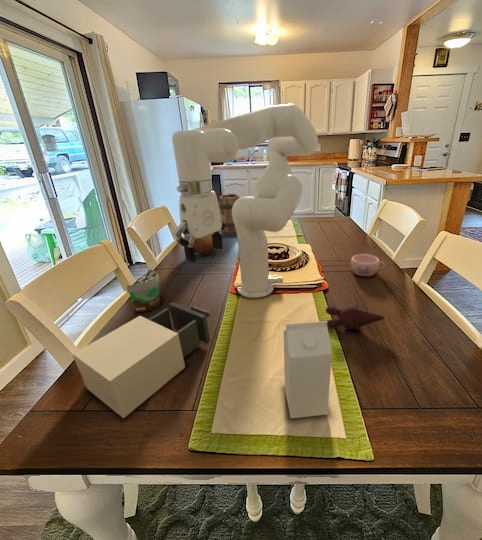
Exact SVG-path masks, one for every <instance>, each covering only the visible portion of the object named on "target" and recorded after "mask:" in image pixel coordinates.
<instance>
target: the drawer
mask: <svg viewBox="0 0 482 540" xmlns="http://www.w3.org/2000/svg"><path fill="white" fill-rule="evenodd" d="M168 307H169V308H165V309H163V310H161V311H160V312H158V313H156V314H154V315H153V316H151V317H150V318H147V319H148V320H150V321H152V322H155V323H157V324H159V325H161V326H163V327H165V328H167V329H169V330H171V331H174V332H176V333H178V336H179V340H180V345H181V350H182V354H183V359H185V357H187V356H188V355H190V354H191V353H192V352H193V351H194V350H196V349H197V348H198V347H199V346H201V342H202V343H204V344H208V343H210V342H211V338H210V332H209V325H208V320H207V319H208V318H209V317H210V312H209V311H207V310H204V309H202V308H199V307H196V306H193V305H191V307H190V308H188V307H186V306H182V305H181V304H179V303H175V302H173V301H172V302H170V303H168Z"/></svg>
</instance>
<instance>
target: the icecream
mask: <svg viewBox="0 0 482 540" xmlns="http://www.w3.org/2000/svg"><path fill="white" fill-rule="evenodd" d="M325 312H326V314H328V315H330V316H335V317H336V316H337V318H332V319H329V320H326V321H327V328H336V327H340V326H342V327H344V328H345V329H347V330H352V331H353V330H356V331H358V330H359V328H361V327H363V326H367V325H370V324H372V323H373V324H374V323H377V322H379V321H382V320H383V321H384V320H385V318H386V317H385V316H383V315H381V314H378V313H375V312H373V311H369V310H367V309H363V308H360V307H358V305H357V304H354V305H353V304H351V305H350V304H349V305H346V306H344V307H342V308H341V309H340V308H338V307H336V306H335V305H334V306H333V305H332V306H327V307H326V308H325Z"/></svg>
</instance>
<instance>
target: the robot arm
mask: <svg viewBox="0 0 482 540" xmlns="http://www.w3.org/2000/svg"><path fill="white" fill-rule="evenodd" d="M318 139H319V137H318V133H317V131H316V129H315V126H313V124H312V123H311V121H310V120H309V118H308V117H307V115H306V114H305V112H304V111H303V110H302V109H301V108H300V107H299V106H298V105H296V104H294V103H288V104H278V105H277V104H276V105H268V106H264V107H262V108H261V107H260V108H258V109H256V110H252V111H251V112H248V113H244V114H242V115H236V116H233V117H230V118H227V119H224V120H220V121H215V122H213V123H208V124H205V125H202V126H199V127H197V128H194V129H185V130H184V129H183V130H177V131H174V132H173V134H172V136H171V141H172V148H173V153H174V159H175V166H176V174H177V179H178V186H177V187H176V191H177V192H178V193H180V195H179V198H178V202H179V203H178V208H179V222H180V224H179V225H178V226H177V227H176V228H175V229H174V230H173V231H172V233H171V234H172V236H173V238H174V239H175V241H176V243H178V244H179V245H180V246H181V247H183V251H184V256H185V260H186V261H187V262H192V263H196V262H197V261H198V260H197V253H196V252H195V247H193V243H194V241H195V238H202V237H204V236H207V235H209V234H212V233H214V234H212V243H213V248H215V249H216V250H223V249H224V244H223V237H222V234H223V229H224V227H225V224H224V223H225V220H226V216H224V215H222V214H221V213H220V208H219V200H218V195H217V193H216V191H215V190H213V182H212V174H211V173H212V171H211V164H210V163H227V162H230V161H232V160H233V159H234V158H235V157H236V156H237V154H238V152H239V151H240V150H247V149H251V148H255V147H257V146H258V145H261V144H263V143H265V142H267V148H268V164H267V166H266V167H265V169H264V170H263V172H261V174H260V175H259V177H258V178H257V180H256V181H255V182H254V184H253V186H252V192H251V193H252V196H250V195H248V196H241V197H239V199H237V200H236V201H235V203H234V204H233V207H232V217H233V221H234V225H235V228H236V232H237V247H238V258H239V259H238V260H239V271H240V283H242V287H238V286H237V288H236V289H237V293H238V294H239V295H241V296H243V297H245V298H250V299H259V298H263V297H266V296H268V295H269V296H270V294H272V293H273V292H274V289H275V284H279V283H284V279H283V276H278V275H277V274H273V275H271V274H270V270H269V269H270V267H269V244H268V243H269V242H268V237H267V235H266V232H272V233H278V232H280V231H282V230H283V229H284V228H285V226H286V225H287V223H288V222H289V220H290V219H291V218H292V216H293V214H294V212H295V211H296V209H297V207H298V205H299V204H300V203H301V199H302V195H303V184H302V181H301V180H300V178H298V177H297V176H295V175H292V167H291V165H290V163H289V161H288V160H287V157H307V156H310V155H313V154H314V153H315V152H316V150H317V148H318V143H319V140H318ZM189 238H190V239H189ZM188 239H189V241H188ZM215 249H214V250H215ZM272 285H274V286H272Z"/></svg>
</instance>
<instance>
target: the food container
mask: <svg viewBox="0 0 482 540" xmlns="http://www.w3.org/2000/svg"><path fill="white" fill-rule="evenodd" d="M160 279H161V278H160V276H159V274H158V273H157V271H156V270H154V269H151V268H149V269H148V268H147V272H146V273H145V274H144V275H142V276H140V277H139V278H138V279H136V281H135V282H134V283H132V284H131V285H130V284H129V285H127V284H126V293H129V296H130V299H131V301H132V304H133V307H134V309H135V312H136V313H144V312H145V313H146V312H148V311H149V312H150V311H152V310H154V309H156V308H158V306H160V304H161V295H160V294H161V293H160V286H159V282H160Z"/></svg>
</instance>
